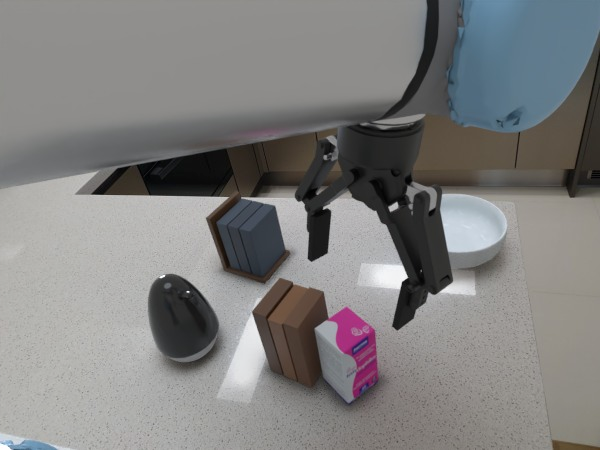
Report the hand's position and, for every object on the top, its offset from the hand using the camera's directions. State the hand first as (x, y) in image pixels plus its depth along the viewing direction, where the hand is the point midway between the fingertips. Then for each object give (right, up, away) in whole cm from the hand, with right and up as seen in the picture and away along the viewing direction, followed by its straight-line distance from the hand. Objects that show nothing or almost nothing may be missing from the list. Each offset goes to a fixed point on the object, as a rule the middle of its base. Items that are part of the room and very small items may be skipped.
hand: (357, 287), depth 53 cm
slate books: (-15, 0, +37) cm, 40 cm away
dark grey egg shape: (-24, -13, +22) cm, 35 cm away
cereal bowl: (+21, +2, +31) cm, 37 cm away
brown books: (-6, -13, +17) cm, 22 cm away
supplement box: (+1, -15, +13) cm, 20 cm away
